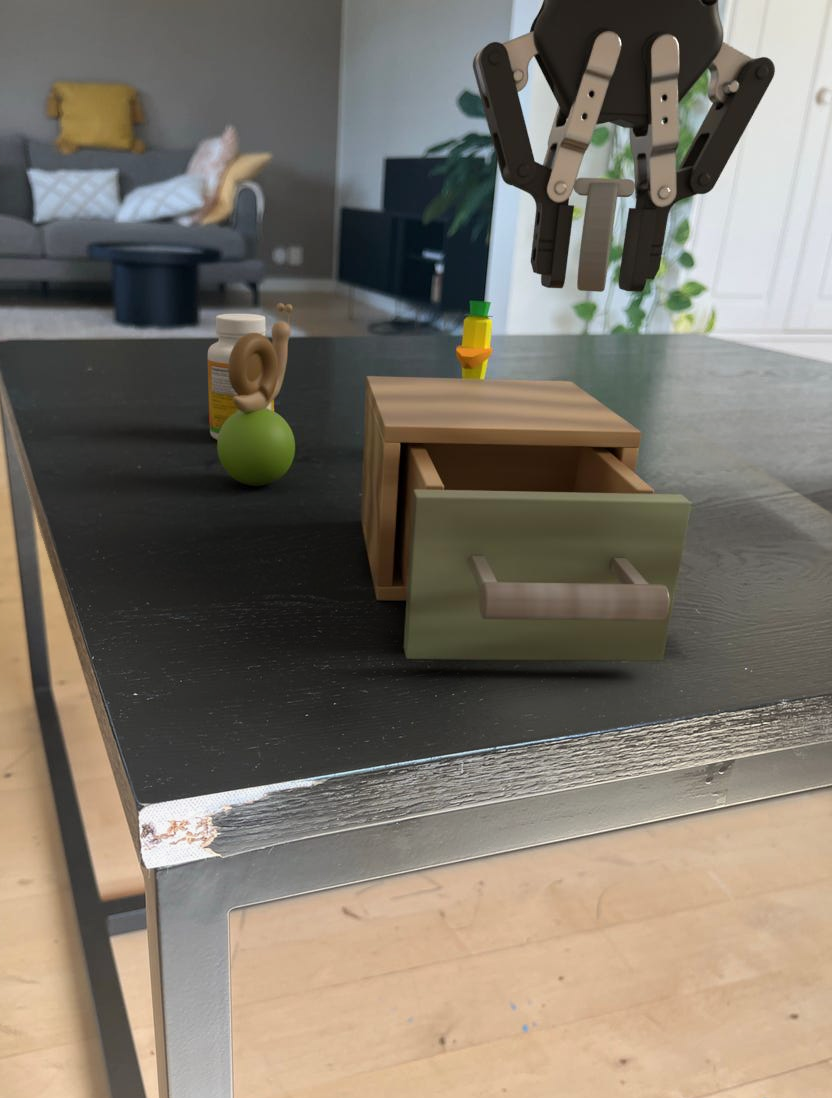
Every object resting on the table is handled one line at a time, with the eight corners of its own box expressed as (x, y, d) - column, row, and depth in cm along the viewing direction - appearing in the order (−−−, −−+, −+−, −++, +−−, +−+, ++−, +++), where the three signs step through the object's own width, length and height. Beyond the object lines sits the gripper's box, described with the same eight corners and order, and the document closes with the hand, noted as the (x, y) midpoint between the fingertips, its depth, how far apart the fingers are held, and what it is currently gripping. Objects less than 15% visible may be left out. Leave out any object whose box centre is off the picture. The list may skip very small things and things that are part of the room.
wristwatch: (619, 296, 46) (636, 177, 44) (559, 293, 46) (573, 175, 44) (619, 289, 51) (634, 183, 49) (566, 286, 52) (578, 181, 50)
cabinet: (614, 603, 52) (641, 431, 48) (376, 601, 51) (384, 425, 47) (553, 523, 64) (571, 381, 60) (360, 520, 63) (366, 375, 60)
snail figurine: (316, 479, 72) (320, 306, 67) (265, 500, 67) (265, 314, 62) (255, 467, 74) (254, 299, 69) (202, 486, 69) (197, 307, 64)
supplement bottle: (235, 426, 86) (233, 310, 82) (286, 435, 84) (287, 316, 80) (196, 437, 82) (192, 316, 78) (248, 447, 80) (247, 322, 76)
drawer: (704, 716, 39) (741, 541, 36) (418, 714, 38) (431, 536, 35) (586, 563, 55) (605, 432, 52) (383, 560, 54) (389, 427, 51)
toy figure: (481, 471, 75) (495, 307, 70) (435, 467, 76) (446, 304, 71) (492, 451, 81) (506, 298, 76) (449, 447, 82) (461, 295, 77)
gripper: (499, -187, 38) (460, 290, 45) (858, -163, 38) (763, 302, 46) (469, -130, 44) (440, 276, 52) (775, -110, 45) (704, 287, 52)
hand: (592, 286), depth 49 cm, fingers closed on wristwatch, 3 cm apart
